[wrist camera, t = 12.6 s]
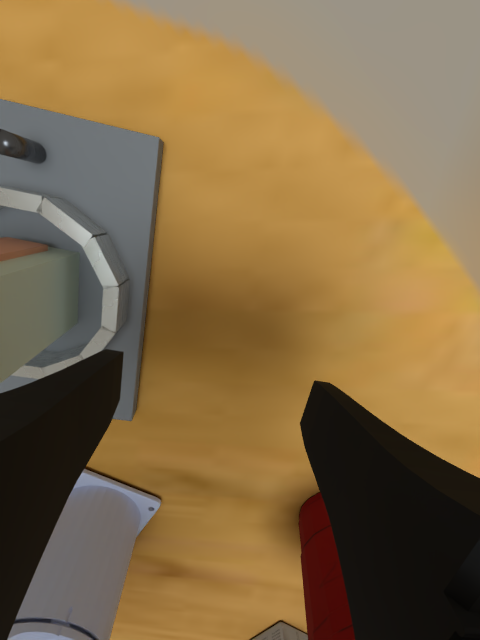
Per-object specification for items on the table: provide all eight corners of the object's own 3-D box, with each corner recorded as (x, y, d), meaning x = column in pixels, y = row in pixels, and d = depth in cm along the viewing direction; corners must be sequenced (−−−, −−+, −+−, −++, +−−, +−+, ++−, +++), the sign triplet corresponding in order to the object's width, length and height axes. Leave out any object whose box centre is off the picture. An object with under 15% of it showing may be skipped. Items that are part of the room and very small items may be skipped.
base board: (136, 410, 22) (131, 421, 21) (-39, 388, 21) (-54, 398, 20) (163, 142, 16) (159, 137, 15) (-79, 84, 15) (-103, 74, 14)
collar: (122, 372, 20) (109, 393, 17) (-46, 348, 18) (-85, 368, 16) (138, 165, 16) (124, 157, 13) (-77, 116, 14) (-135, 97, 12)
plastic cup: (409, 478, 26) (548, 677, 15) (356, 556, 30) (437, 765, 19) (299, 454, 25) (364, 658, 13) (255, 539, 28) (278, 759, 17)
